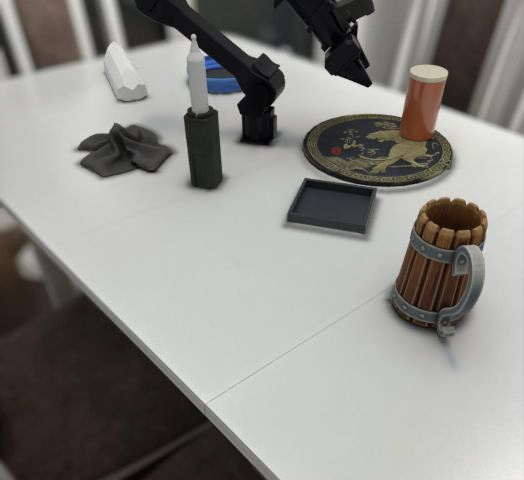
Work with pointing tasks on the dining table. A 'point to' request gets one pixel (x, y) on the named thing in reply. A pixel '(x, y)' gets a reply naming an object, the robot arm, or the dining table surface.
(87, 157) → the cloth
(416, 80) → the cup
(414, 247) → the mug
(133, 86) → the crystal
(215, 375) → the dining table surface
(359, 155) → the decorative plate
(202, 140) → the candle
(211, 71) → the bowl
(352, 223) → the dark gray rectangular tray
